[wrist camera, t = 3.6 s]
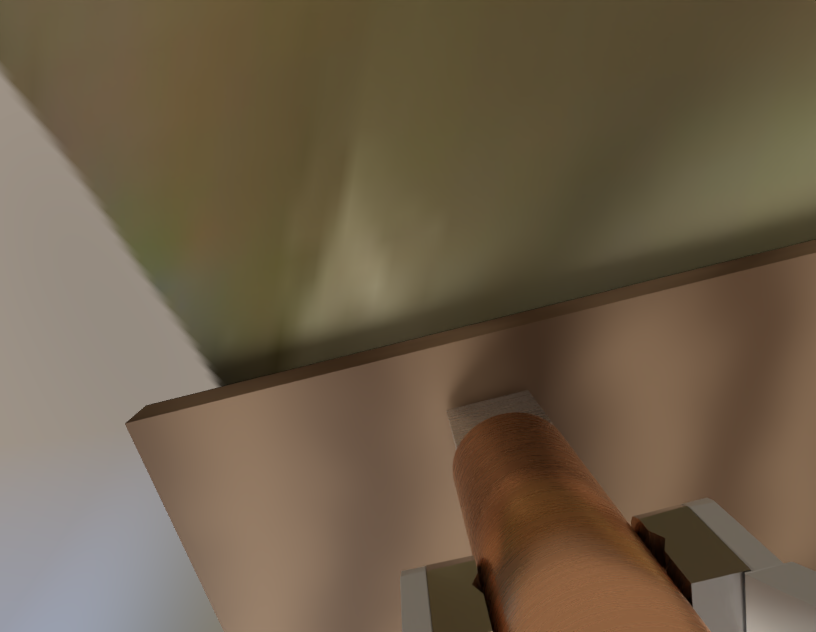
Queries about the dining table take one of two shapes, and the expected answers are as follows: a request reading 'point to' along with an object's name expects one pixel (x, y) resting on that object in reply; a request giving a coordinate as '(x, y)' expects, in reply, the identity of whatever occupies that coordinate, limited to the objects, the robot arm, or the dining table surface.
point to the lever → (552, 531)
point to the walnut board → (478, 381)
